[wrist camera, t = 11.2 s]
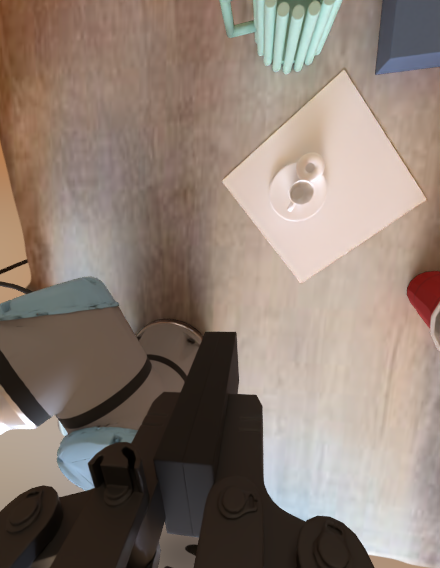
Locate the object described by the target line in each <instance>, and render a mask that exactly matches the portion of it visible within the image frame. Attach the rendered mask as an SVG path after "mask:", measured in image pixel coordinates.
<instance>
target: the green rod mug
mask: <svg viewBox="0 0 440 568" xmlns="http://www.w3.org/2000/svg"><path fill="white" fill-rule="evenodd" d="M219 1H220V5H221V10H222V15H223V19H224V24H225V29H226V33H227V36H228V37H229V38H233V37H237V36H241V35H245V34H249V33H253V32H254V35H255V42H256V43H257V52H258V55H260V56H263V55H264V64H265V65H266V66H269V65H270V64H271V63H272V59H273V64H272V69H273V71H274V72H278V71H279V70H280V69H281V64H283V72H284V73H285V74H289V73H290V72H291V69H292V65H293V63H294V70H295V71H296V72H299V71H301V69H302V67H303V64H304V63H305V64H306V65H310V64H311V63H312V62H313V59H314V56H315V55H318V54H320V52H321V50H322V48H323V46H324V43H325V41H326V39H327V37H328V34H329V32H330V30H331V27H332V25H333V22H334V20H335V17H336V15H337V13H338V10H339V8H340V5H341V3H342V0H253V12H254V20H253V21H249V22H245V23H241V24H237V25H234V22H233V16H232V10H231V4H230V1H232V0H219ZM319 2H320V3H319Z"/></svg>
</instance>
